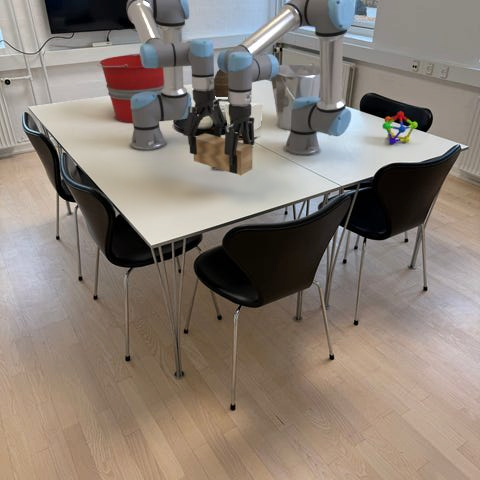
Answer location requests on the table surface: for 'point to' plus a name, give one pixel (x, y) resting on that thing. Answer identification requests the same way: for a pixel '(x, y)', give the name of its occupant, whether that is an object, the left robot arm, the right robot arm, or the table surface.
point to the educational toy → (398, 128)
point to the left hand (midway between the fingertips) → (205, 148)
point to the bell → (221, 84)
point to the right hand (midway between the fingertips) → (239, 169)
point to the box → (222, 153)
